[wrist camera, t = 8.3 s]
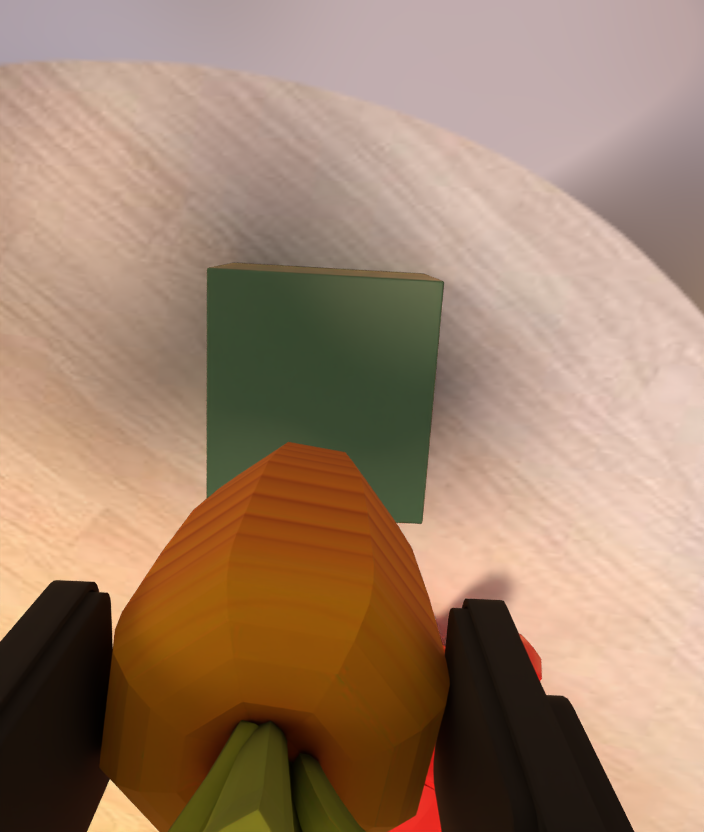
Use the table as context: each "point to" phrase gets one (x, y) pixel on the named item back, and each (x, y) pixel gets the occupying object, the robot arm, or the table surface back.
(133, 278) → the table surface
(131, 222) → the table surface
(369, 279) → the green block
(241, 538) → the carrot
